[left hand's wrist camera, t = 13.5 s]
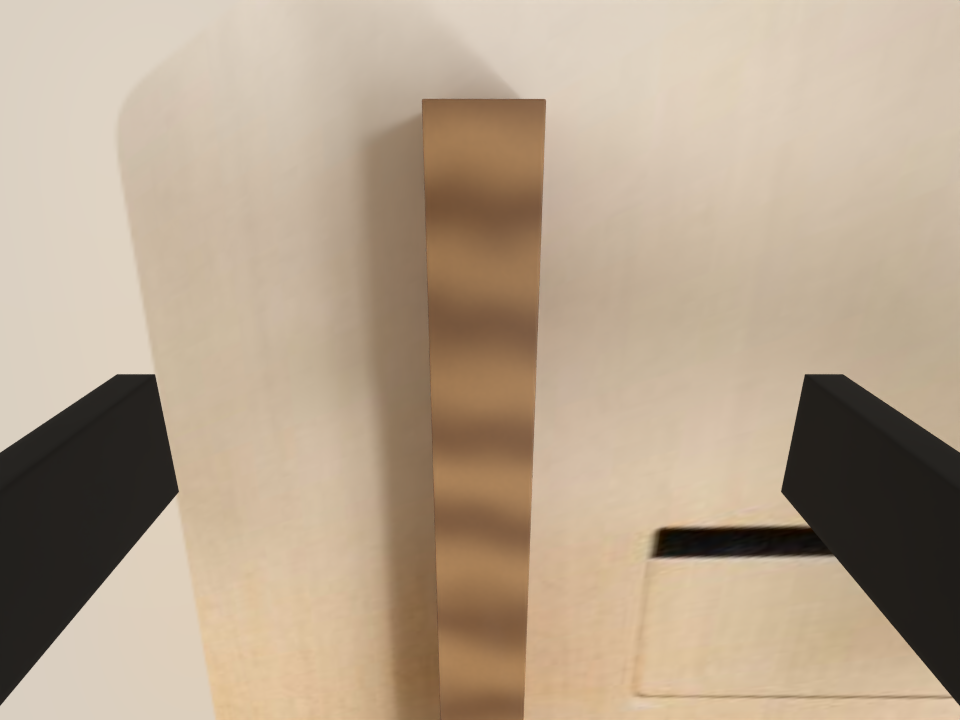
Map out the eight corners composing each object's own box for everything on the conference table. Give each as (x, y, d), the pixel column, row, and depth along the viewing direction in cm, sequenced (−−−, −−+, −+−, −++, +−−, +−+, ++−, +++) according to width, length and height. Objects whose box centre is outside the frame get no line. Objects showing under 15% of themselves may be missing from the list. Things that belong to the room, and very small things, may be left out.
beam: (434, 106, 32) (421, 98, 24) (530, 106, 32) (546, 98, 24) (454, 960, 59) (451, 1078, 51) (506, 960, 59) (510, 1078, 51)
